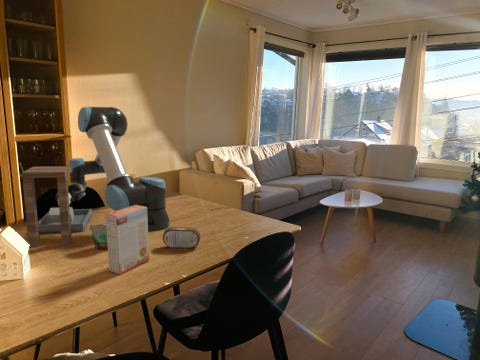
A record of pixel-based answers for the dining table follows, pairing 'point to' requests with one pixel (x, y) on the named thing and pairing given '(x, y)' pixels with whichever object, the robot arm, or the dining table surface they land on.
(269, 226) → the dining table surface
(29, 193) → the shelf stand
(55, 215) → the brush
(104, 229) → the food container
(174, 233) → the tin
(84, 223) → the tray
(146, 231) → the cracker box
